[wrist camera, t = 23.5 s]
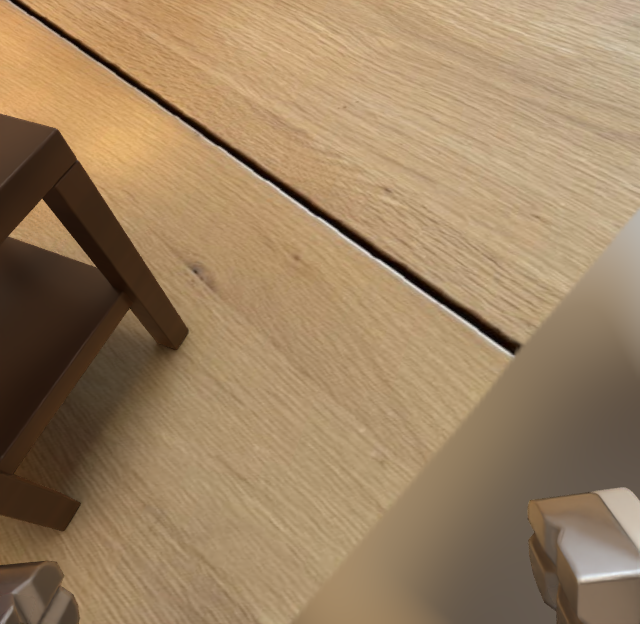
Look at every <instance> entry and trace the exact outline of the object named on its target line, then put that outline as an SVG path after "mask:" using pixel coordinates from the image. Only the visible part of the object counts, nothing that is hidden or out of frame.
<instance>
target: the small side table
mask: <svg viewBox="0 0 640 624" xmlns="http://www.w3.org/2000/svg"><path fill="white" fill-rule="evenodd" d="M41 199H43V200H44V201H45V203H46V204H47V205H48V206H49V208H50V209H51V210H52V211H53V213H54V214H55V215H56V216H57V218H58V219H59V220H60V221H61V223H62V224H63V225H64V226H65V228H66V229H67V230H68V231H69V233H70V234H71V235H72V236H73V238H74V239H75V240H76V241H77V243H78V244H79V245H80V246H81V248H82V249H83V250H84V252H85V253H86V254H87V255H88V257H89V258H90V259H91V260H92V262H93V263H94V264H95V265H96V267H97V268H96V267H93V266H90V265H88V264H85V263H82V262H79V261H76V260H73V259H71V258H68V257H65V256H62V255H59V254H56V253H54V252H51V251H48V250H45V249H42V248H39V247H36V246H34V245H31V244H28V243H25V242H22V241H19V240H17V239H14V238H11V237H8V236H9V234H10V233H11V232H12V231H13V230H14V229H15V228H16V227H17V226H18V225H19V223H20V222H21V221H22V220H23V219H24V218H25V217H26V216H27V215H28V213H29V212H30V211H31V210H32V209H33V208H34V207H35V206H36V205H37V204H38V202H39V201H40V200H41ZM129 308H130V309H131V311H132V312H133V313H134V314H135V316H136V317H137V318H138V319H139V321H140V322H141V323H142V324H143V326H144V327H145V328H146V329H147V331H148V332H149V333H150V334H151V336H152V337H153V338H154V339H155V341H156V342H157V343H159V344H162V345H164V346H167V347H170V348H172V349H175V350H177V349H178V347H179V345H180V344H181V342H182V341H183V339H184V337H185V336H186V334H187V333H188V328H187V327H186V325H185V324H184V322H183V321H182V319H181V318H180V316H179V315H178V313H177V311H176V310H175V308H174V307H173V305H172V304H171V302H170V301H169V299H168V298H167V296H166V295H165V293H164V291H163V290H162V288H161V287H160V285H159V284H158V282H157V281H156V279H155V278H154V276H153V274H152V273H151V271H150V270H149V268H148V267H147V265H146V264H145V262H144V261H143V259H142V258H141V256H140V254H139V253H138V251H137V250H136V248H135V247H134V245H133V244H132V242H131V241H130V239H129V237H128V236H127V234H126V233H125V231H124V230H123V228H122V227H121V225H120V224H119V222H118V221H117V219H116V217H115V216H114V214H113V213H112V211H111V210H110V208H109V207H108V205H107V204H106V202H105V200H104V199H103V197H102V196H101V194H100V193H99V191H98V190H97V188H96V187H95V185H94V184H93V182H92V180H91V179H90V177H89V176H88V174H87V173H86V171H85V170H84V168H83V167H82V165H81V163H80V162H79V161H78V160H77V158H76V156H75V155H74V153H73V152H72V150H71V149H70V147H69V146H68V144H67V142H66V141H65V139H64V138H63V136H62V135H61V133H60V132H59V130H57V129H56V128H53V127H49V126H45V125H41V124H37V123H34V122H30V121H26V120H22V119H18V118H15V117H11V116H7V115H3V114H0V515H3V516H6V517H10V518H14V519H18V520H22V521H26V522H29V523H33V524H37V525H41V526H45V527H49V528H52V529H56V530H60V531H64V530H65V528H66V526H67V525H68V523H69V522H70V520H71V518H72V517H73V515H74V514H75V512H76V510H77V509H78V507H79V506H80V502H78V501H76V500H74V499H72V498H70V497H69V496H67V495H65V494H63V493H61V492H58V491H56V490H53V489H51V488H48V487H45V486H43V485H40V484H38V483H35V482H32V481H30V480H27V479H25V478H22V477H19V476H17V475H14V474H13V473H14V471H15V470H16V469H17V467H18V466H19V464H20V463H21V462H22V460H23V459H24V457H25V456H26V454H27V453H28V452H29V450H30V449H31V447H32V446H33V444H34V443H35V442H36V440H37V439H38V437H39V436H40V435H41V433H42V432H43V430H44V429H45V427H46V426H47V425H48V423H49V422H50V420H51V419H52V417H53V416H54V415H55V413H56V412H57V410H58V409H59V408H60V406H61V405H62V403H63V402H64V400H65V399H66V398H67V396H68V395H69V393H70V392H71V390H72V389H73V388H74V386H75V385H76V383H77V382H78V381H79V379H80V378H81V376H82V375H83V373H84V372H85V371H86V369H87V368H88V366H89V365H90V364H91V362H92V361H93V359H94V358H95V356H96V355H97V354H98V352H99V351H100V349H101V348H102V346H103V345H104V344H105V342H106V341H107V339H108V338H109V337H110V335H111V334H112V332H113V331H114V329H115V328H116V327H117V325H118V324H119V322H120V321H121V319H122V318H123V317H124V315H125V314H126V312H127V311H128V310H129Z"/></svg>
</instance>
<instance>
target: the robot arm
mask: <svg viewBox="0 0 640 624" xmlns="http://www.w3.org/2000/svg"><path fill="white" fill-rule="evenodd" d="M528 520H529V522H530V524H531V526H532V529H533V530H534V534H533V535H532V536H531V537H530V539H529V540H528V542H529V556H530V561H531V566H532V571H533V575H534V578H535V580H536V583H537V586H538V589H539V591H540V593H541V596H542V598H543V600H544V602H545V603H546V604H547V605H548V606H550V607H551V608H552V609H554V610H555V611H556V612H557V624H640V501H639V499H638V498H637V497H636V496H635V495H634V493H633V492H632V491H631V490H629V489H627V488H625V487H622V488H614V489H607V490H600V491H593V492H592V493H590V492H588V493H580V494H572V495H564V496H557V497H550V498H542V499H535V500H530V501H529V504H528ZM63 578H64V574H63V572H62V570H61V569H60V567H59V565H58V563H57V562H54V561H40V562H29V563H19V564H9V565H0V624H79V620H80V617H79V610H78V604H77V602H76V600H75V597H74V595H73V594H72V593H70V592H69V591H67V590H66V589H64V588H63V587H61V583H62V581H63Z"/></svg>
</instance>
